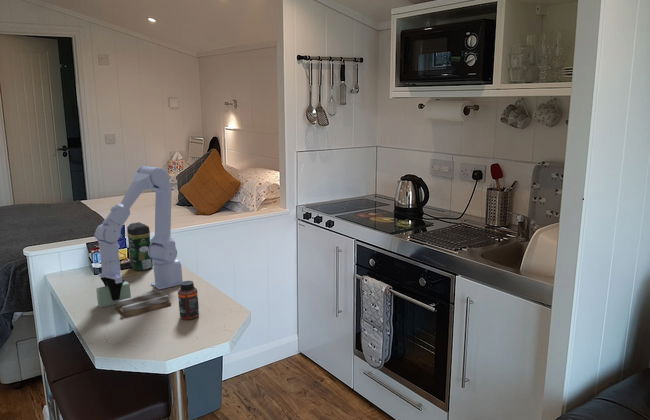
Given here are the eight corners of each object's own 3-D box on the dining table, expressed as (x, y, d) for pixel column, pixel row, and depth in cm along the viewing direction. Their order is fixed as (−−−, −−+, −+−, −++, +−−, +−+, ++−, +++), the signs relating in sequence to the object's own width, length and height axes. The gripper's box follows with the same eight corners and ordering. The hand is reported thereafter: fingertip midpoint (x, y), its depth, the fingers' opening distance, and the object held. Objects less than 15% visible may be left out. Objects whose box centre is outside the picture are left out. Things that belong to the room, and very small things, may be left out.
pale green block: (128, 297, 182) (126, 281, 181) (131, 300, 180) (129, 283, 179) (98, 305, 176) (96, 288, 175) (100, 307, 174) (98, 290, 172)
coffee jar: (128, 266, 216) (124, 223, 212) (147, 263, 220) (143, 220, 216) (135, 272, 208) (131, 227, 204) (155, 268, 213) (151, 224, 209)
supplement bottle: (203, 314, 167) (200, 280, 165) (192, 321, 162) (190, 286, 159) (186, 311, 169) (184, 278, 167) (176, 319, 164) (173, 284, 161)
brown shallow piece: (159, 296, 182) (158, 289, 182) (171, 305, 175) (170, 297, 174) (115, 308, 173) (114, 300, 173) (125, 317, 166) (124, 309, 165)
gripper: (91, 257, 178) (95, 295, 181) (104, 267, 167) (109, 307, 170) (112, 253, 182) (116, 290, 185) (126, 262, 171) (130, 301, 174)
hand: (114, 298), depth 177 cm, fingers closed on pale green block, 3 cm apart
